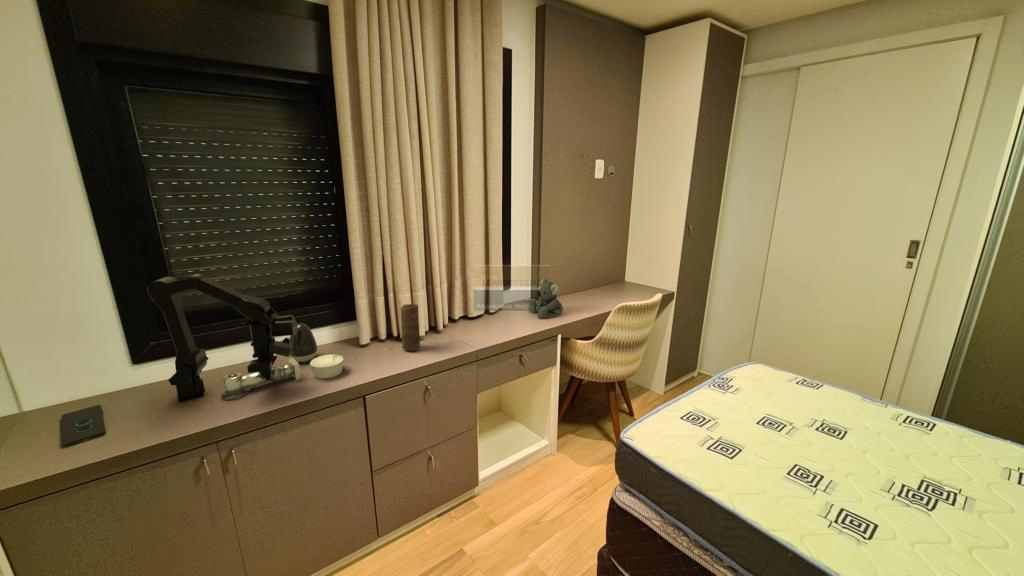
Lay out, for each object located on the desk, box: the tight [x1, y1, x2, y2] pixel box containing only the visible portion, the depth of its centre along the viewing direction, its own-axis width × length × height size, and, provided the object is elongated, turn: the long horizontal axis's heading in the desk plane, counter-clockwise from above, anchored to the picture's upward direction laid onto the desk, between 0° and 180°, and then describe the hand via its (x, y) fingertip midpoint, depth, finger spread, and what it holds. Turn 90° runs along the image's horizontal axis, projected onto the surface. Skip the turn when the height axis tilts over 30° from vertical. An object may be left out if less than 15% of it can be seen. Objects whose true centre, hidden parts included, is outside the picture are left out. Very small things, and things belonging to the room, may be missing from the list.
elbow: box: [222, 365, 280, 395], centre depth 132 cm, size 15×5×6 cm, turn 135°
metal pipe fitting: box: [220, 357, 302, 401], centre depth 134 cm, size 23×8×6 cm, turn 134°
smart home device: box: [60, 404, 107, 449], centre depth 111 cm, size 8×2×20 cm
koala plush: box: [528, 277, 564, 320], centre depth 216 cm, size 17×18×20 cm
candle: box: [400, 303, 421, 351], centre depth 165 cm, size 8×7×20 cm
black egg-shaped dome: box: [289, 323, 318, 363], centre depth 153 cm, size 10×10×15 cm
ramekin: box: [309, 353, 345, 380], centre depth 144 cm, size 11×11×5 cm
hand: (268, 379), depth 133 cm, fingers closed
